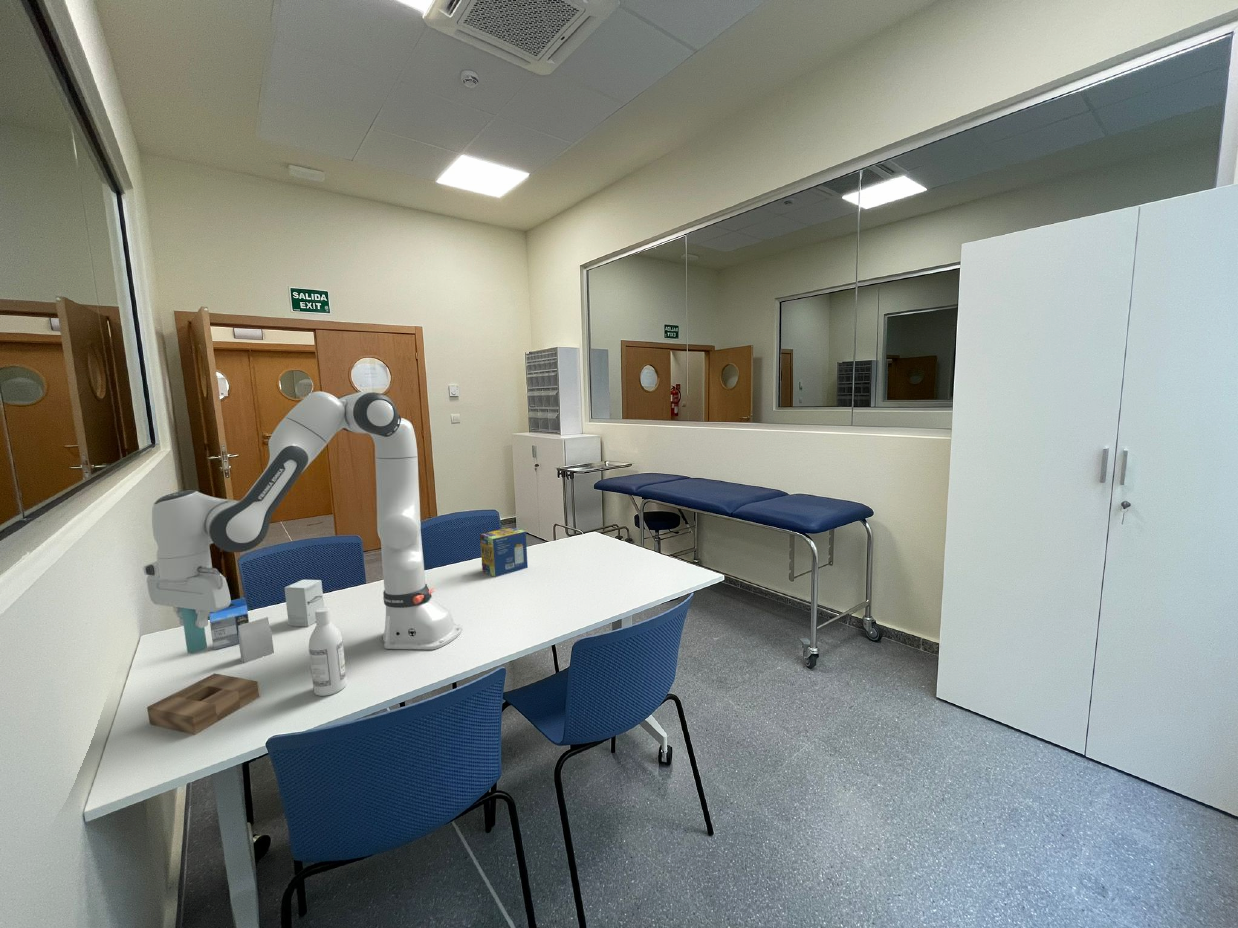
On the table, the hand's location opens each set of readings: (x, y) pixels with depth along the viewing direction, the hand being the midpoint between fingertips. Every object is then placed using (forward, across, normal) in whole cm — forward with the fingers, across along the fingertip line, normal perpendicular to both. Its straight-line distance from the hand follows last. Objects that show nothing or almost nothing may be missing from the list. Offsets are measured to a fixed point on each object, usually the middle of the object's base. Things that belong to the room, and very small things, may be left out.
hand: (194, 625), depth 113 cm
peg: (+6, 0, 0) cm, 6 cm away
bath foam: (+20, -21, -14) cm, 32 cm away
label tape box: (+20, +28, -26) cm, 43 cm away
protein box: (+20, -19, -101) cm, 105 cm away
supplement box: (+20, +19, -43) cm, 51 cm away
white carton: (+20, +13, -22) cm, 33 cm away
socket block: (+20, 0, 0) cm, 20 cm away
